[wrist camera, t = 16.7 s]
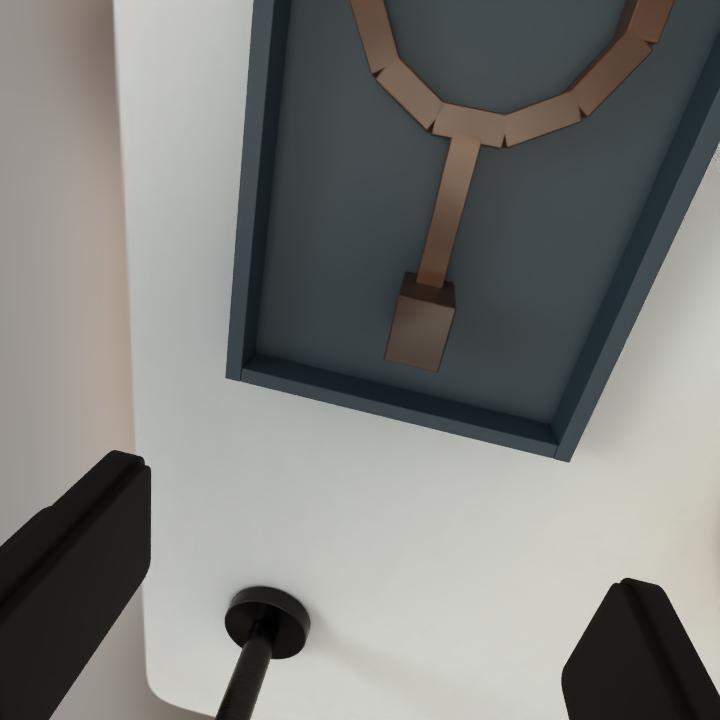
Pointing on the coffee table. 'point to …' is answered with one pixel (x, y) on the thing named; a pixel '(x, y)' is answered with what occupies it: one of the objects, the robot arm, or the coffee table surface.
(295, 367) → the tray
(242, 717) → the black post with ball
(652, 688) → the robot arm
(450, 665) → the coffee table surface
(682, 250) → the coffee table surface
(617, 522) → the coffee table surface
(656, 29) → the brown ring with handle
